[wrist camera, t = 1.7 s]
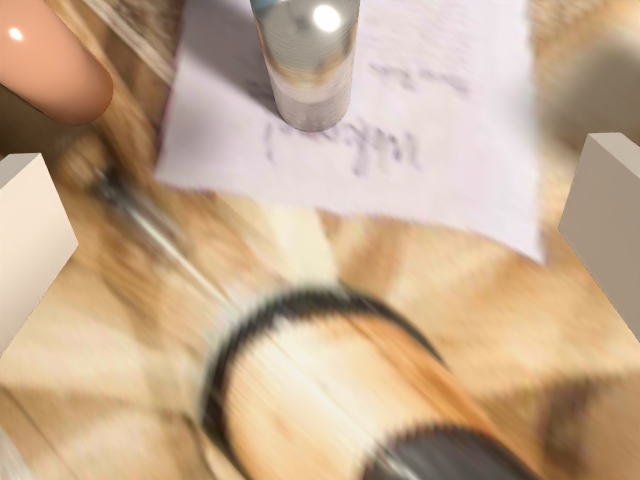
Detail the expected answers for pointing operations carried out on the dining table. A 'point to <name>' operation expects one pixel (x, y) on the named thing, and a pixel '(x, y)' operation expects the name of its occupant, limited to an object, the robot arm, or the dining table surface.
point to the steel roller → (309, 57)
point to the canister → (50, 64)
